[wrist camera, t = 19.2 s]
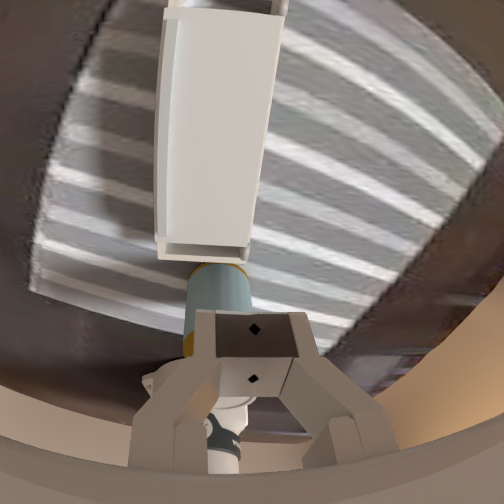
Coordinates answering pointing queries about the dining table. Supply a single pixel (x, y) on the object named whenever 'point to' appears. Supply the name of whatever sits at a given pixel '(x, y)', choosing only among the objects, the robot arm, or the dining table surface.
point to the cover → (210, 122)
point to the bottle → (216, 307)
